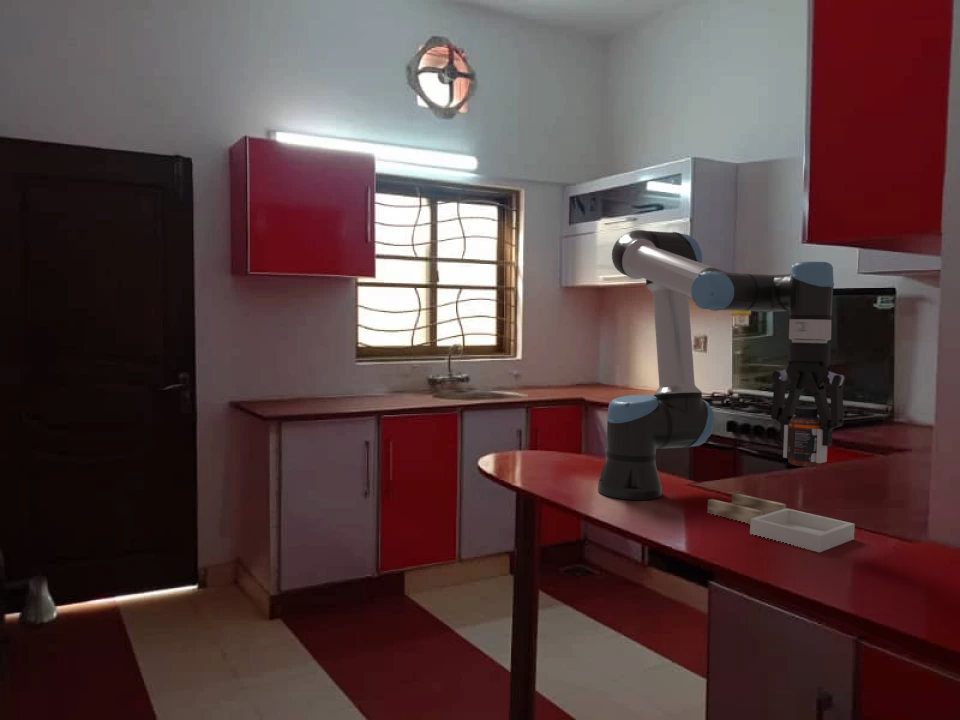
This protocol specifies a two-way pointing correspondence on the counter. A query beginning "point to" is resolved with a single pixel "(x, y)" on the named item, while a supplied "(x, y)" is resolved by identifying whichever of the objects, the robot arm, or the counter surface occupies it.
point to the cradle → (743, 507)
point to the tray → (802, 529)
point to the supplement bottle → (803, 437)
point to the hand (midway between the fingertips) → (804, 459)
